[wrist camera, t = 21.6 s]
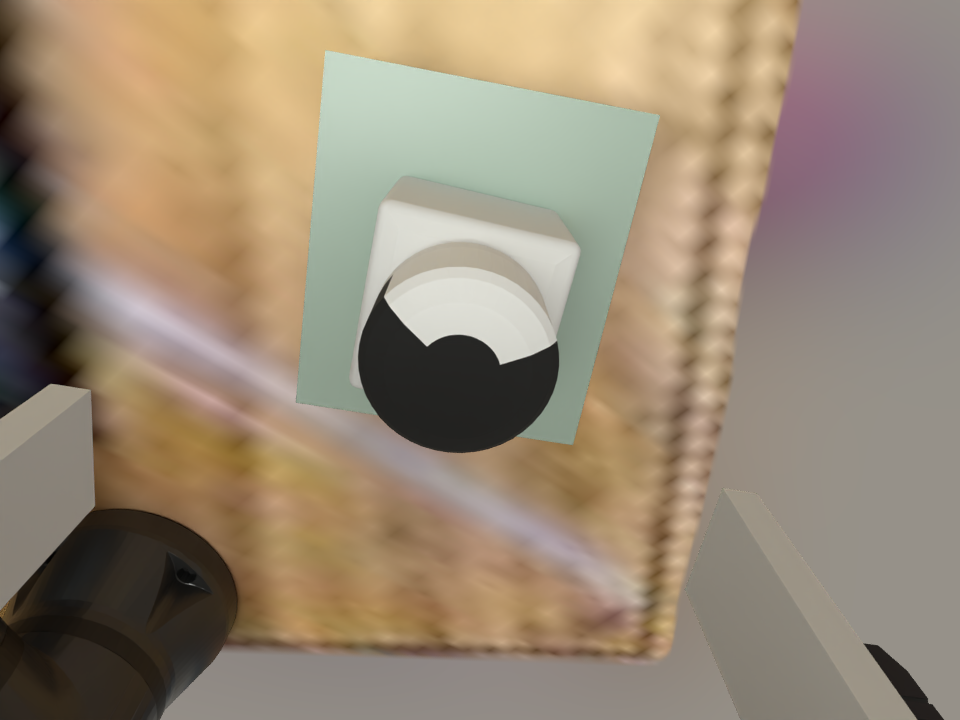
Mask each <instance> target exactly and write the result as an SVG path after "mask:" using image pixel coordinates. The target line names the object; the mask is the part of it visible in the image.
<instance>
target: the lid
mask: <svg viewBox="0 0 960 720" xmlns="http://www.w3.org/2000/svg"><path fill="white" fill-rule="evenodd" d="M659 117H660V115H656V114H650V113H645V112H640V111H635V110H630V109H625V108H620V107H615V106H609V105H604V104H599V103H594V102H589V101H584V100H579V99H574V98H568V97H563V96H558V95H553V94H548V93H543V92H538V91H533V90H527V89H522V88H517V87H512V86H507V85H502V84H497V83H492V82H486V81H481V80H476V79H471V78H466V77H461V76H456V75H451V74H445V73H440V72H435V71H430V70H425V69H420V68H415V67H410V66H404V65H399V64H394V63H389V62H384V61H379V60H374V59H369V58H363V57H358V56H353V55H348V54H343V53H338V52H333V51H328V50H325V62H324V74H323V86H322V98H321V109H320V121H319V133H318V145H317V157H316V169H315V181H314V193H313V205H312V216H311V228H310V240H309V252H308V264H307V276H306V288H305V300H304V312H303V323H302V335H301V347H300V359H299V371H298V383H297V395H296V403H301V404H308V405H314V406H321V407H327V408H334V409H341V410H347V411H354V412H360V413H367V414H373V415H378V414H377V413H376V412H375V410H374V409H373V407H372V406H371V404H370V402H369V400H368V399H367V397H366V395H365V392H364V389H360V388H356V387H354V386H352V384H351V383H350V380H349V374H350V368H351V362H352V357H353V351H354V345H355V339H356V334H357V328H358V322H359V316H360V311H361V305H362V299H363V294H364V288H365V282H366V276H367V271H368V265H369V259H370V254H371V248H372V242H373V236H374V231H375V225H376V219H377V213H378V208H379V206H380V203H381V202H382V201H383V199H384V198H385V197H386V195H387V194H388V193H389V192H390V190H391V189H392V188H393V186H394V185H395V184H396V183H397V181H398V180H399V179H400V178H401V177H403V176H410V177H415V178H419V179H423V180H427V181H431V182H436V183H440V184H444V185H448V186H453V187H457V188H461V189H465V190H469V191H474V192H478V193H482V194H486V195H491V196H495V197H499V198H503V199H507V200H512V201H516V202H520V203H524V204H529V205H533V206H537V207H541V208H545V209H550V210H553V211H555V212H556V213H557V214H558V216H559V217H560V219H561V220H562V222H563V223H564V224H565V226H566V227H567V229H568V230H569V232H570V233H571V235H572V236H573V238H574V239H575V241H576V242H577V244H578V245H579V247H580V249H581V252H580V257H579V261H578V264H577V268H576V271H575V274H574V278H573V281H572V285H571V288H570V291H569V295H568V298H567V302H566V305H565V308H564V312H563V315H562V319H561V322H560V325H559V329H558V332H557V336H556V338H557V343H558V349H559V371H558V378H557V382H556V385H555V389H554V392H553V394H552V396H551V398H550V400H549V402H548V404H547V406H546V407H545V409H544V410H543V412H542V413H541V415H540V416H539V417H538V418H537V419H536V420H535V421H534V422H533V424H531V425H530V426H529V427H528V428H527V429H526V430H524V431H523V432H522V433H520V434H519V435H517V437H523V438H530V439H536V440H543V441H550V442H556V443H563V444H569V445H573V443H574V439H575V435H576V431H577V427H578V424H579V420H580V416H581V412H582V408H583V405H584V401H585V397H586V393H587V390H588V386H589V382H590V378H591V374H592V371H593V367H594V363H595V359H596V355H597V352H598V348H599V344H600V340H601V337H602V333H603V329H604V325H605V321H606V318H607V314H608V310H609V306H610V303H611V299H612V295H613V291H614V287H615V284H616V280H617V276H618V272H619V268H620V265H621V261H622V257H623V253H624V250H625V246H626V242H627V238H628V234H629V231H630V227H631V223H632V219H633V215H634V212H635V208H636V204H637V200H638V197H639V193H640V189H641V185H642V181H643V178H644V174H645V170H646V166H647V162H648V159H649V155H650V151H651V147H652V144H653V140H654V136H655V132H656V128H657V125H658V121H659Z"/></svg>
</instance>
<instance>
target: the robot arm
mask: <svg viewBox="0 0 960 720" xmlns="http://www.w3.org/2000/svg"><path fill="white" fill-rule="evenodd" d="M94 506H95V491H94V463H93V436H92V409H91V390H87V389H81V388H74V387H68V386H61V385H55V384H50V385H49V386H47V387H46V388H44V389H43V390H41V391H40V392H39V393H37V394H36V395H34V396H33V397H31V398H30V399H28V400H27V401H26V402H24V403H23V404H21V405H20V406H18V407H17V408H16V409H14V410H13V411H11V412H10V413H8V414H7V415H5V416H4V417H3V418H1V419H0V610H1V609H2V608H3V607H4V606H5V605H6V603H7V602H8V601H9V600H10V601H9V604H8V607H7V609H6V612H5V614H4V617H3V619H2V618H1V617H0V720H160V718H161V716H162V714H163V712H164V710H165V709H166V708H167V707H168V706H169V705H170V704H171V703H172V702H173V701H174V700H175V699H176V698H177V697H178V696H179V695H180V694H181V693H182V692H183V691H184V690H185V689H186V688H187V687H188V686H189V685H190V684H191V683H192V682H193V681H194V680H195V679H196V678H197V677H198V676H199V675H200V674H201V673H202V672H203V671H204V670H205V669H206V668H207V667H208V666H209V665H210V664H211V663H212V662H213V660H214V659H215V658H216V656H217V655H218V654H219V652H220V651H221V649H222V647H223V645H224V643H225V641H226V639H227V636H228V634H229V632H230V630H231V628H232V625H233V623H234V620H235V616H236V611H237V595H236V590H235V586H234V582H233V580H232V577H231V575H230V573H229V571H228V569H227V567H226V566H225V564H224V563H223V561H222V560H221V558H220V557H219V556H218V555H217V553H216V552H215V551H214V550H213V549H212V548H211V547H210V546H209V545H208V544H207V543H206V542H204V541H203V540H202V539H201V538H199V537H198V536H197V535H195V534H194V533H192V532H191V531H189V530H188V529H186V528H184V527H182V526H181V525H179V524H177V523H175V522H172V521H170V520H167V519H165V518H162V517H159V516H156V515H152V514H149V513H144V512H139V511H132V510H103V511H96V512H91V513H89V512H90V511H91V510H92V509H93V508H94ZM685 591H686V593H687V596H688V598H689V600H690V602H691V605H692V607H693V610H694V612H695V614H696V616H697V619H698V621H699V624H700V626H701V628H702V631H703V633H704V635H705V638H706V640H707V642H708V645H709V647H710V649H711V652H712V654H713V656H714V659H715V661H716V663H717V666H718V668H719V670H720V673H721V675H722V677H723V680H724V682H725V684H726V687H727V689H728V691H729V694H730V696H731V698H732V701H733V703H734V705H735V708H736V710H737V712H738V715H739V717H740V719H741V720H944V719H943V718H942V717H941V715H940V714H939V713H938V711H937V710H936V709H935V707H934V706H933V705H932V704H929V703H928V698H927V697H926V696H925V694H924V693H923V691H922V690H921V689H920V687H919V686H918V685H917V683H916V682H915V681H914V679H913V678H912V677H911V676H910V674H909V673H908V671H907V670H906V669H904V668H903V667H902V666H901V665H900V664H899V663H898V662H896V661H895V660H894V659H893V658H892V657H891V656H890V655H888V654H887V653H886V652H885V651H884V650H883V649H882V648H880V647H879V646H878V645H871V644H864V643H863V642H862V641H861V640H860V638H859V637H858V636H857V634H856V633H855V631H854V630H853V628H852V627H851V626H850V624H849V623H848V621H847V620H846V619H845V617H844V616H843V614H842V613H841V611H840V610H839V609H838V607H837V606H836V604H835V603H834V602H833V600H832V599H831V597H830V596H829V595H828V593H827V592H826V590H825V589H824V588H823V586H822V585H821V584H820V582H819V580H818V579H817V578H816V576H815V575H814V574H813V572H812V571H811V569H810V568H809V566H808V565H807V564H806V562H805V561H804V559H803V558H802V556H801V555H800V554H799V552H798V551H797V549H796V548H795V547H794V545H793V544H792V542H791V541H790V540H789V538H788V537H787V536H786V534H785V532H784V531H783V530H782V528H781V527H780V525H779V524H778V523H777V521H776V520H775V518H774V517H773V516H772V514H771V513H770V512H769V510H768V508H767V507H766V506H765V504H764V503H763V502H762V500H761V499H760V497H759V496H758V495H757V493H752V492H745V491H739V490H732V489H726V488H722V491H721V494H720V496H719V499H718V502H717V504H716V507H715V510H714V513H713V515H712V518H711V521H710V523H709V526H708V529H707V532H706V534H705V537H704V540H703V542H702V545H701V548H700V550H699V553H698V556H697V558H696V561H695V564H694V566H693V569H692V572H691V575H690V577H689V580H688V582H687V585H686V588H685Z"/></svg>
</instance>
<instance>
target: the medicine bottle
mask: <svg viewBox="0 0 960 720" xmlns="http://www.w3.org/2000/svg"><path fill="white" fill-rule="evenodd" d="M580 252H581V249H580V247H579V245H578V244H577V242H576V241H575V239H574V238H573V236H572V235H571V233H570V232H569V230H568V229H567V227H566V226H565V224H564V223H563V222H562V220H561V219H560V217H559V216H558V214H557V213H556V212H555V211H553V210H550V209H545V208H541V207H537V206H533V205H529V204H524V203H520V202H516V201H512V200H507V199H503V198H499V197H495V196H491V195H486V194H482V193H478V192H474V191H469V190H465V189H461V188H457V187H453V186H448V185H444V184H440V183H436V182H431V181H427V180H423V179H419V178H415V177H410V176H403V177H401V178H400V179H399V180H398V181H397V183H396V184H395V185H394V186H393V188H392V189H391V190H390V192H389V193H388V194H387V195H386V197H385V198H384V199H383V201H382V202H381V203H380V206H379V208H378V213H377V219H376V225H375V231H374V236H373V242H372V248H371V254H370V259H369V265H368V271H367V276H366V282H365V288H364V294H363V299H362V305H361V311H360V316H359V322H358V328H357V334H356V339H355V345H354V351H353V357H352V362H351V368H350V374H349V380H350V383H351V384H352V386H354V387H356V388H360V389H364V392H365V395H366V397H367V399H368V400H369V402H370V404H371V406H372V407H373V409H374V410H375V412H376V413H377V414H378V416H379V417H380V418H381V419H382V420H383V421H384V422H385V423H386V424H387V425H388V426H389V427H390V428H391V429H393V430H394V431H395V432H396V433H398V434H399V435H401V436H402V437H404V438H406V439H407V440H409V441H411V442H413V443H416V444H418V445H420V446H423V447H426V448H429V449H433V450H437V451H443V452H453V453H466V452H476V451H481V450H486V449H489V448H492V447H495V446H498V445H501V444H503V443H505V442H507V441H509V440H511V439H513V438H514V437H516V436H517V435H519V434H520V433H522V432H523V431H524V430H526V429H527V428H528V427H529V426H530V425H531V424H533V422H534V421H535V420H536V419H537V418H538V417H539V416H540V415H541V413H542V412H543V410H544V409H545V407H546V406H547V404H548V402H549V400H550V398H551V396H552V394H553V392H554V389H555V385H556V382H557V378H558V371H559V349H558V343H557V338H556V336H557V332H558V329H559V325H560V322H561V319H562V315H563V312H564V308H565V305H566V302H567V298H568V295H569V291H570V288H571V285H572V281H573V278H574V274H575V271H576V268H577V264H578V261H579V257H580Z"/></svg>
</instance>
